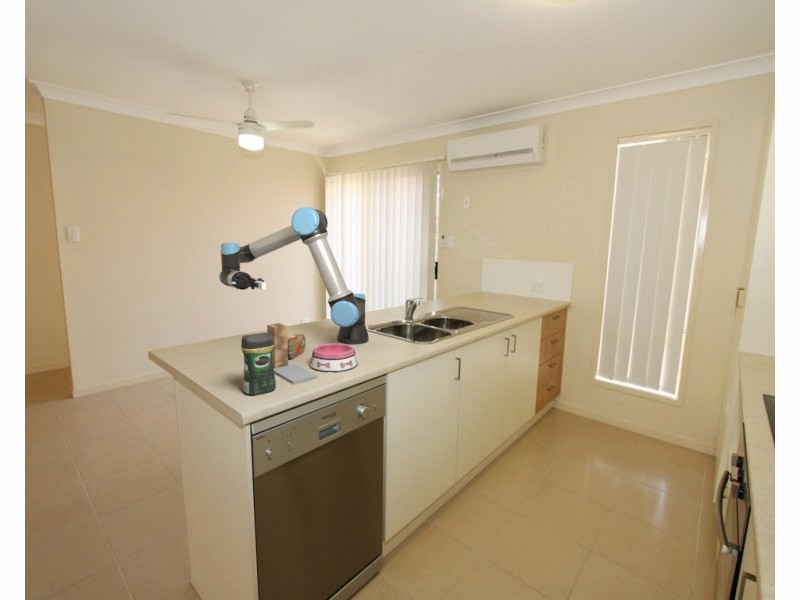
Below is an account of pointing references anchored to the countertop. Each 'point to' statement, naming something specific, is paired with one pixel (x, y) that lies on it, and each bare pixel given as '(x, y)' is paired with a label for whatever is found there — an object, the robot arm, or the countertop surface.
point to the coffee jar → (258, 363)
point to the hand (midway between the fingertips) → (263, 286)
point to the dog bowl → (333, 358)
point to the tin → (296, 345)
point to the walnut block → (279, 344)
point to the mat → (294, 374)
